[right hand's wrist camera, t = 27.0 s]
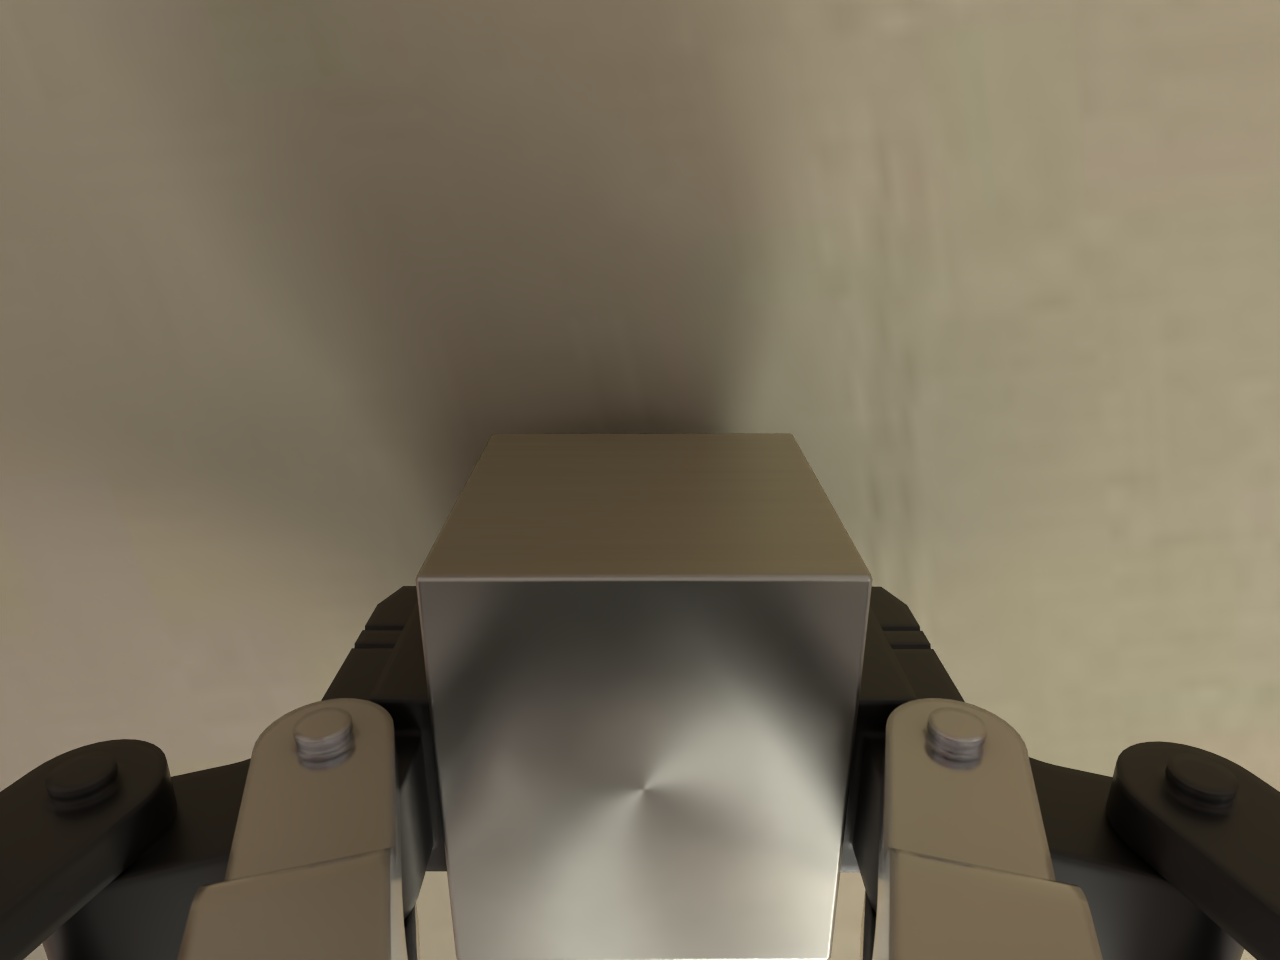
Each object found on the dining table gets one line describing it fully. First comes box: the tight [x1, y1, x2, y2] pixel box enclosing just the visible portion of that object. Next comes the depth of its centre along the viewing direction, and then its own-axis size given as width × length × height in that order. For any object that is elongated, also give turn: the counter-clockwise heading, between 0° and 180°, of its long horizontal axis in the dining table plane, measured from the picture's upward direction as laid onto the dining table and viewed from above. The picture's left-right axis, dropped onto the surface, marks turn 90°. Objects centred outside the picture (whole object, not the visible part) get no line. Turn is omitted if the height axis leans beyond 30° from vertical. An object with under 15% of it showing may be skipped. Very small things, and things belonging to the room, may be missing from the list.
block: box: [416, 434, 872, 960], centre depth 10 cm, size 4×5×4 cm
